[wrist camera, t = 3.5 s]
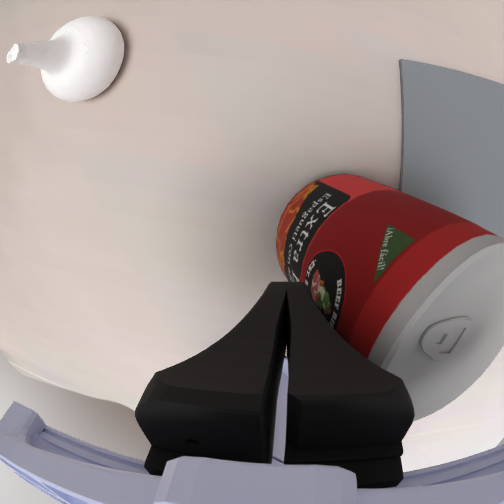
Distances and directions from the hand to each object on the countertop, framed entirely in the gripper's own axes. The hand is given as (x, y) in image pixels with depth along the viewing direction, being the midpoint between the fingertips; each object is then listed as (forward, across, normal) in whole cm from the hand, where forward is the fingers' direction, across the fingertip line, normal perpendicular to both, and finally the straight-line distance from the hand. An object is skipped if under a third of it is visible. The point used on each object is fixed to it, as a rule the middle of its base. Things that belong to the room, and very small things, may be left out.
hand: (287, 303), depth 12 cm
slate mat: (+8, -16, 0) cm, 18 cm away
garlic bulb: (+9, +13, -13) cm, 20 cm away
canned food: (+7, -3, 0) cm, 8 cm away
